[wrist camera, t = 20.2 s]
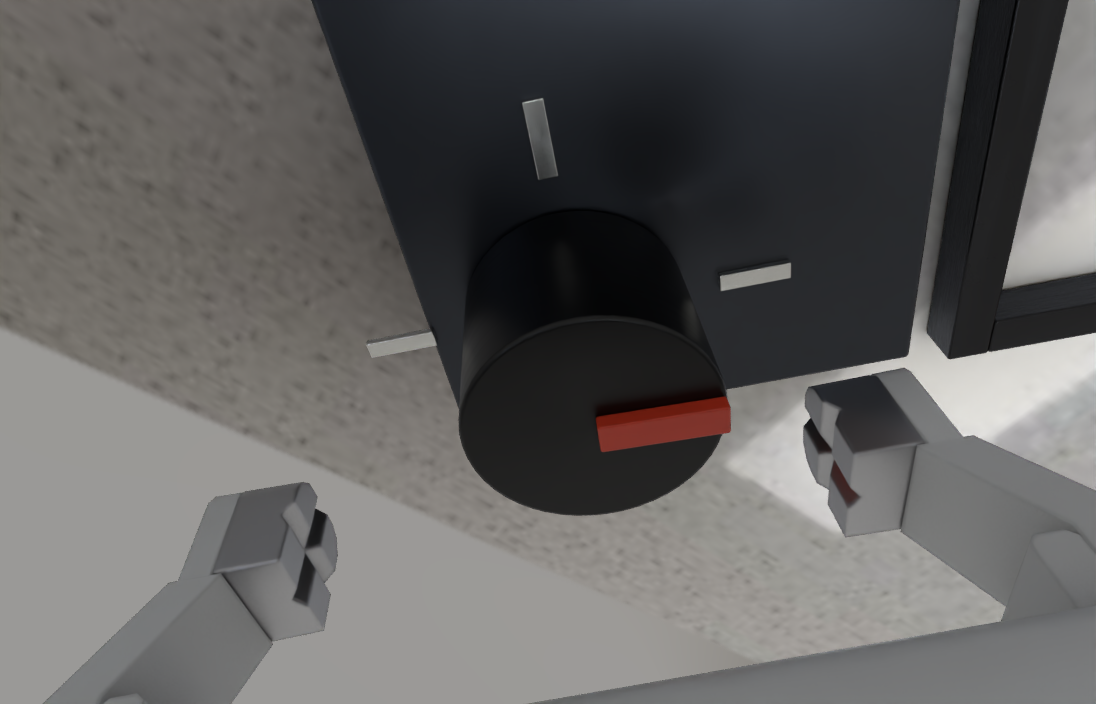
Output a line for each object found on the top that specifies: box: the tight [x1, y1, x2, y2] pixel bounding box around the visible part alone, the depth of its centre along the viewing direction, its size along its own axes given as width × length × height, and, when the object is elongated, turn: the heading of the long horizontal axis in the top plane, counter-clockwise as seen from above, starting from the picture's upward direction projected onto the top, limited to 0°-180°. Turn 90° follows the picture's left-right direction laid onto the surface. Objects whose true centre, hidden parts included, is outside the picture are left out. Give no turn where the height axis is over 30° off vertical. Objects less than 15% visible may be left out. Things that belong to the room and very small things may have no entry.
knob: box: [459, 211, 731, 516], centre depth 13 cm, size 4×4×4 cm
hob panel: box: [311, 0, 960, 408], centre depth 15 cm, size 11×11×3 cm
